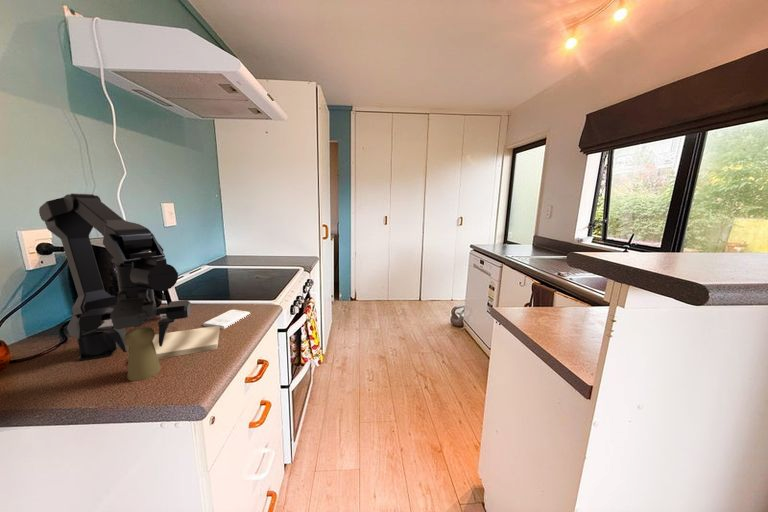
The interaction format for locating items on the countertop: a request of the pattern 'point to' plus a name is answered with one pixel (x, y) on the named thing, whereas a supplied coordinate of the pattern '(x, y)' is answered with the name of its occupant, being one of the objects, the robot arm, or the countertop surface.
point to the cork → (141, 354)
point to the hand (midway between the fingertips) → (143, 348)
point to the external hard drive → (226, 319)
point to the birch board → (187, 342)
